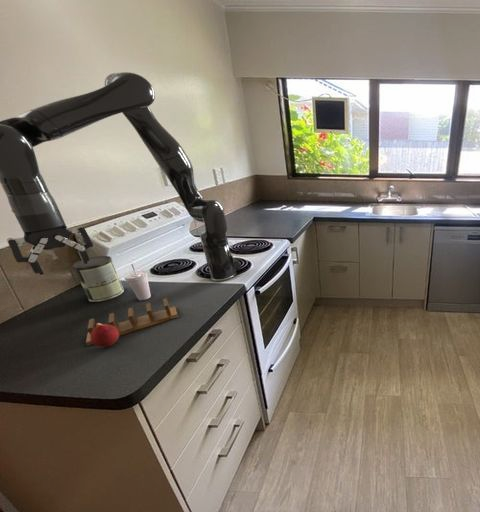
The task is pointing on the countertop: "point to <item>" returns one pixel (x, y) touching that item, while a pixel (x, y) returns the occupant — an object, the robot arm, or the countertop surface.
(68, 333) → the countertop surface
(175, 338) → the countertop surface
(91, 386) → the countertop surface
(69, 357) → the countertop surface
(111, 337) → the red round piece
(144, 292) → the smoothie
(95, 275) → the coffee can
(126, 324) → the dish rack
